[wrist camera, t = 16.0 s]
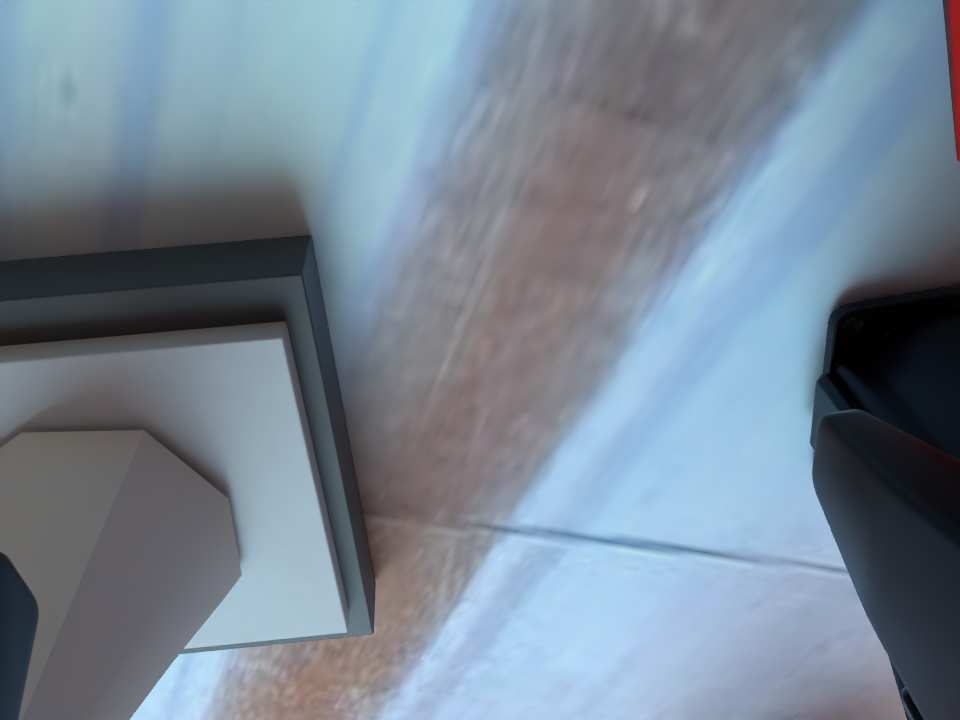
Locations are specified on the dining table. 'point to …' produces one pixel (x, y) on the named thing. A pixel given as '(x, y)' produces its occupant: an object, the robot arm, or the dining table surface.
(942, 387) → the robot arm
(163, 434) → the kitchen scale
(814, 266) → the dining table surface
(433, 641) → the dining table surface
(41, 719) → the grey faceted vase
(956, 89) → the bottle
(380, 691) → the dining table surface
